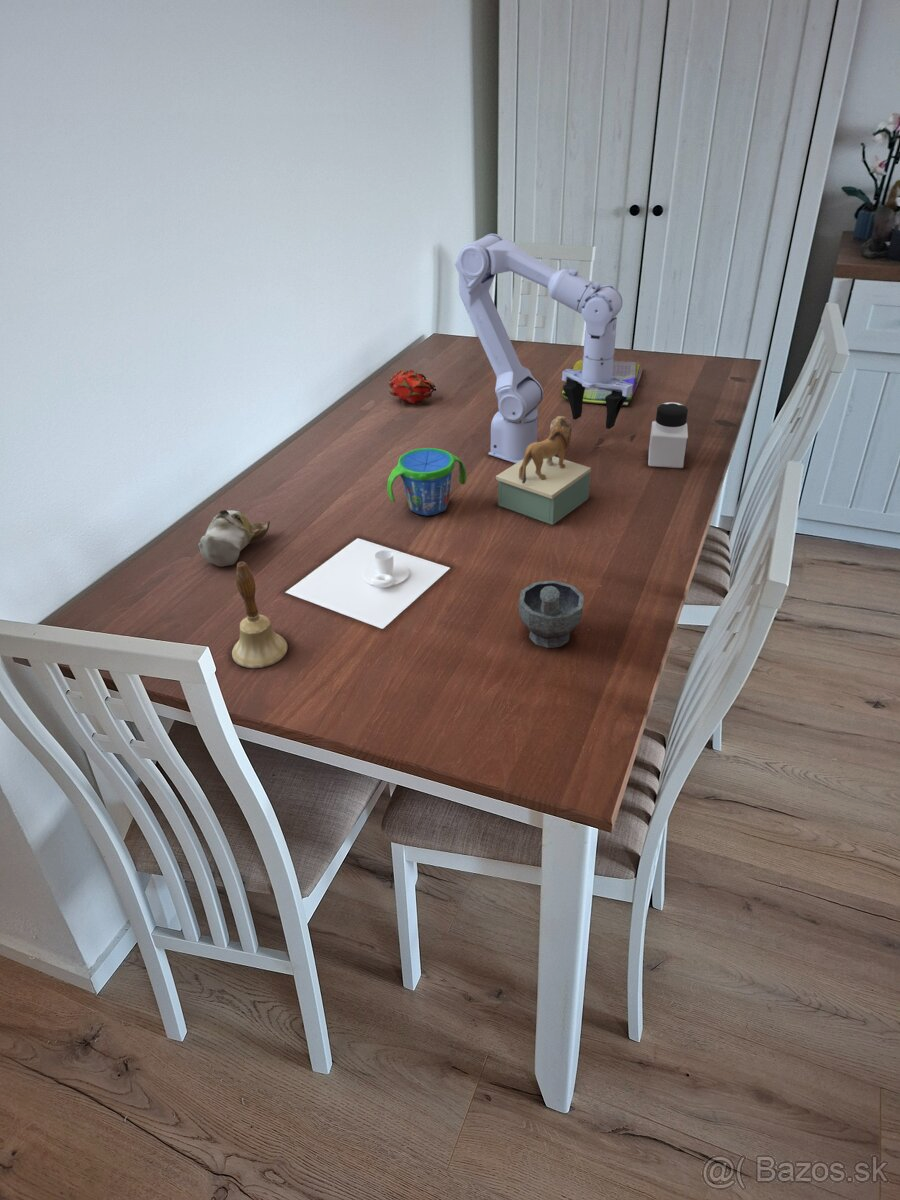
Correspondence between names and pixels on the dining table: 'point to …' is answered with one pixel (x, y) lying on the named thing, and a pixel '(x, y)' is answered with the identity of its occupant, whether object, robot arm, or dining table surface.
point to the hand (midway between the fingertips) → (593, 422)
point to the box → (544, 500)
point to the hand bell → (255, 629)
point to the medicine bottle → (669, 436)
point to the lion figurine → (548, 447)
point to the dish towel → (621, 370)
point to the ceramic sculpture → (229, 537)
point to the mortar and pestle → (550, 611)
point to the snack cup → (426, 479)
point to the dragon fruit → (410, 386)
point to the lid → (554, 474)
